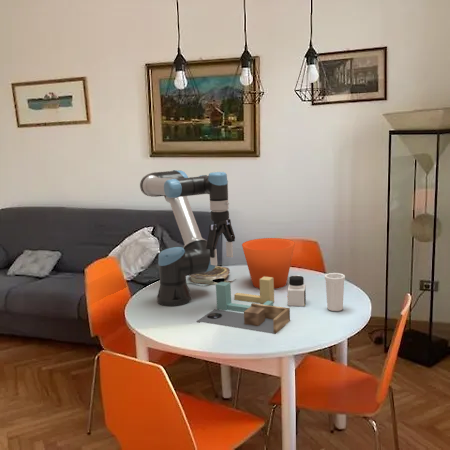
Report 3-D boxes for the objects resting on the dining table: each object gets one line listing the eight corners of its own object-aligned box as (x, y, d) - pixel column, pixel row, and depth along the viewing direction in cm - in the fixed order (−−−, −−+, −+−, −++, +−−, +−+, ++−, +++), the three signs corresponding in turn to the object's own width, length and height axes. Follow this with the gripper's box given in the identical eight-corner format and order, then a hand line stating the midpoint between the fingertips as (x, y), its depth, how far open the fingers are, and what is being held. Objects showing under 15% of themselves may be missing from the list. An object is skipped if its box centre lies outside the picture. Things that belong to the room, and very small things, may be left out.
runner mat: (196, 322, 210) (196, 321, 210) (214, 310, 222) (214, 309, 222) (275, 335, 194) (275, 333, 194) (290, 321, 206) (290, 320, 206)
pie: (171, 281, 268) (171, 271, 267) (207, 269, 288) (207, 260, 287) (213, 290, 250) (213, 280, 249) (248, 276, 270) (248, 267, 269)
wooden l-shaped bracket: (238, 327, 202) (237, 314, 201) (252, 316, 213) (252, 303, 212) (276, 334, 194) (276, 319, 193) (290, 321, 206) (289, 308, 205)
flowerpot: (296, 276, 264) (295, 237, 261) (295, 292, 240) (294, 249, 236) (246, 276, 268) (244, 238, 264) (240, 292, 244) (239, 250, 240)
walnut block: (244, 323, 205) (243, 311, 204) (251, 318, 210) (250, 306, 209) (258, 326, 202) (258, 313, 201) (265, 320, 207) (264, 308, 206)
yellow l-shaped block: (274, 301, 229) (273, 277, 227) (269, 305, 225) (269, 280, 223) (238, 297, 237) (237, 273, 235) (233, 300, 233) (232, 276, 231)
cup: (332, 304, 222) (332, 271, 219) (349, 308, 217) (349, 275, 214) (321, 309, 217) (320, 276, 214) (337, 314, 211) (337, 279, 208)
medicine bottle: (304, 306, 221) (304, 279, 219) (287, 306, 223) (287, 278, 221) (305, 300, 228) (305, 274, 226) (289, 300, 230) (288, 273, 227)
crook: (217, 309, 223) (215, 284, 220) (230, 300, 233) (229, 276, 231) (261, 316, 213) (260, 290, 211) (273, 306, 223) (272, 281, 221)
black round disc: (204, 318, 213) (204, 317, 213) (211, 313, 218) (211, 312, 218) (217, 320, 210) (217, 319, 210) (224, 315, 216) (224, 314, 215)
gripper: (212, 216, 203) (215, 269, 207) (241, 205, 224) (243, 254, 228) (195, 215, 206) (198, 267, 210) (226, 205, 228) (228, 253, 232)
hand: (222, 260), depth 219 cm, fingers open, 13 cm apart
